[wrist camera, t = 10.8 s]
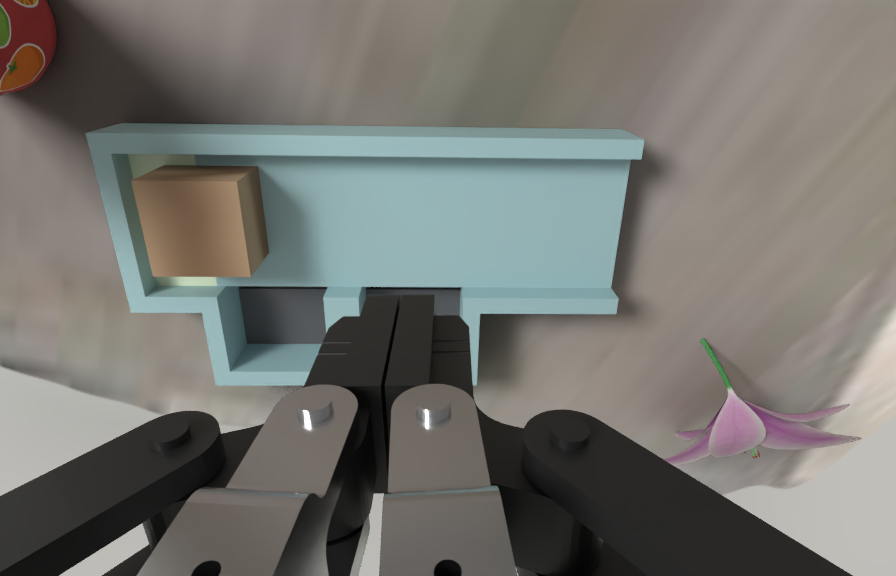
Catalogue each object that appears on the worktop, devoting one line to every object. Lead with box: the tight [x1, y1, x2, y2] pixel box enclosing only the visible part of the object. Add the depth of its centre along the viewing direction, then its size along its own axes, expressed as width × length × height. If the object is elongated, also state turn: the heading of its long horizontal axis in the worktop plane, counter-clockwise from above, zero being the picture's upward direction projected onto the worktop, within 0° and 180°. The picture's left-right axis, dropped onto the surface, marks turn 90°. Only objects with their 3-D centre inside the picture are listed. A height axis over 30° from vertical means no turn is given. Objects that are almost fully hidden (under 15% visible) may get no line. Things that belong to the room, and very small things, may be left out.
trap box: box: [86, 123, 644, 385], centre depth 32 cm, size 28×15×4 cm, turn 89°
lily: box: [664, 339, 861, 466], centre depth 35 cm, size 12×12×10 cm
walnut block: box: [131, 165, 269, 277], centre depth 29 cm, size 5×5×4 cm
